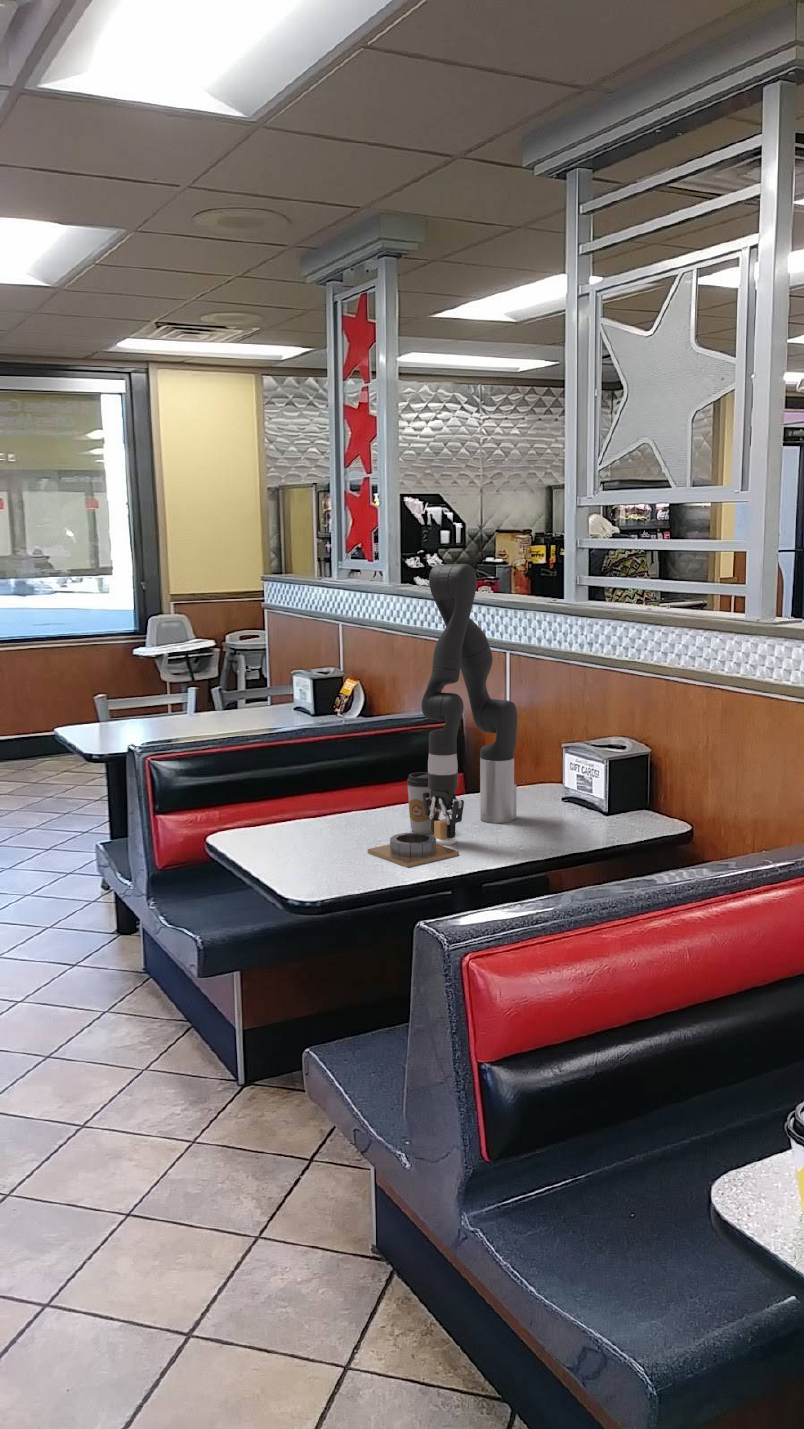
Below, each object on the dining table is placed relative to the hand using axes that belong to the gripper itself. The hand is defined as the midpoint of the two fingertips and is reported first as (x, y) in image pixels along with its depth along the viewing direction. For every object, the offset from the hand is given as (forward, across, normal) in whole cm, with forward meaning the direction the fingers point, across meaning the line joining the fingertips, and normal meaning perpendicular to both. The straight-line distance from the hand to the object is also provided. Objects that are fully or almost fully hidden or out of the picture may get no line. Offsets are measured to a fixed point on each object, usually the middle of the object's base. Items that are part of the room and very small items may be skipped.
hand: (443, 835), depth 285 cm
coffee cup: (+2, +12, -3) cm, 13 cm away
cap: (+2, 0, 0) cm, 2 cm away
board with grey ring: (+2, -4, +13) cm, 14 cm away
